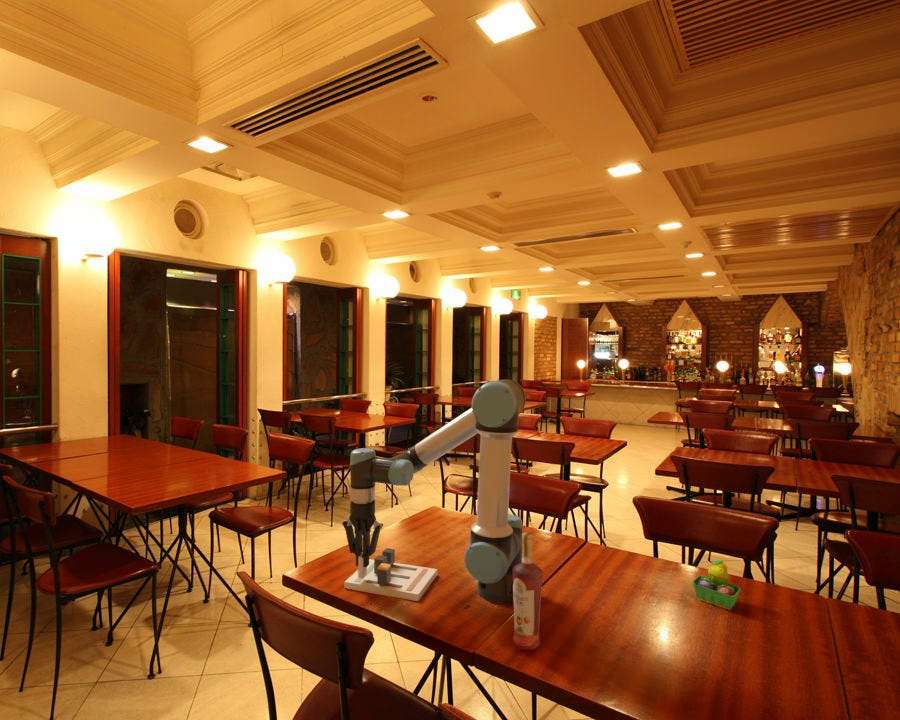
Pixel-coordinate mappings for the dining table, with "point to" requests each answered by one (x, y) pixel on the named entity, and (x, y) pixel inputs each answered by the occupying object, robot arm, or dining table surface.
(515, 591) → the liquor
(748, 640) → the dining table surface
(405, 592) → the panel
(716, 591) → the fruit basket
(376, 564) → the handle middle
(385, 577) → the handle
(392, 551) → the handle far
